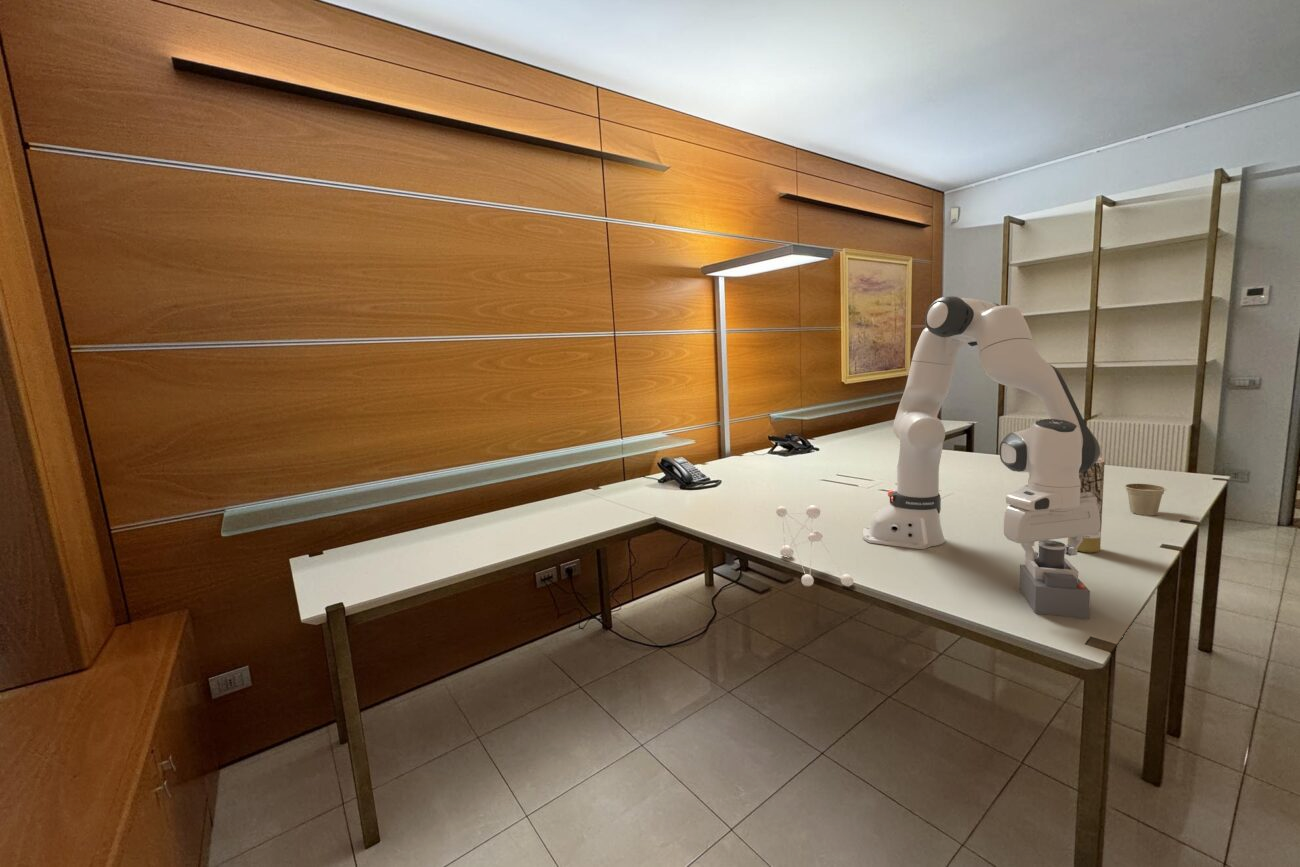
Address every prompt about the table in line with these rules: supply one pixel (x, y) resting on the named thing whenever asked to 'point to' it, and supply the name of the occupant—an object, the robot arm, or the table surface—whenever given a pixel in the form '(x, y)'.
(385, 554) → the table surface
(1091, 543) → the paper tube
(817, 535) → the molecule model
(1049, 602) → the desk organizer caddy
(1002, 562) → the table surface
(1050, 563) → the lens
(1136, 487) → the flower pot
